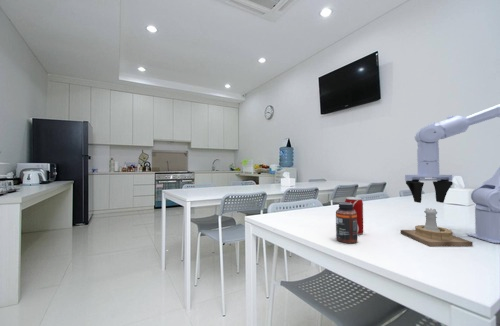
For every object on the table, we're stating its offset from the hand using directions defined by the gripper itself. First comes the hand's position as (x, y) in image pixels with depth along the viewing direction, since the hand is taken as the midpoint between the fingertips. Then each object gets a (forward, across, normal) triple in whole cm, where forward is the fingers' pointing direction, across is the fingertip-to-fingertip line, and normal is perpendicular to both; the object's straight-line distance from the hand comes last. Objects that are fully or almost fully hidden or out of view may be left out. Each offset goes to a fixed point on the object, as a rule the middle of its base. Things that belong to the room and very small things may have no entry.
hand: (428, 202), depth 74 cm
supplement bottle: (+11, +31, +7) cm, 34 cm away
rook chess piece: (+9, +4, +6) cm, 12 cm away
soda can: (+11, +25, -1) cm, 27 cm away
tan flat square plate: (+10, +4, +6) cm, 13 cm away
